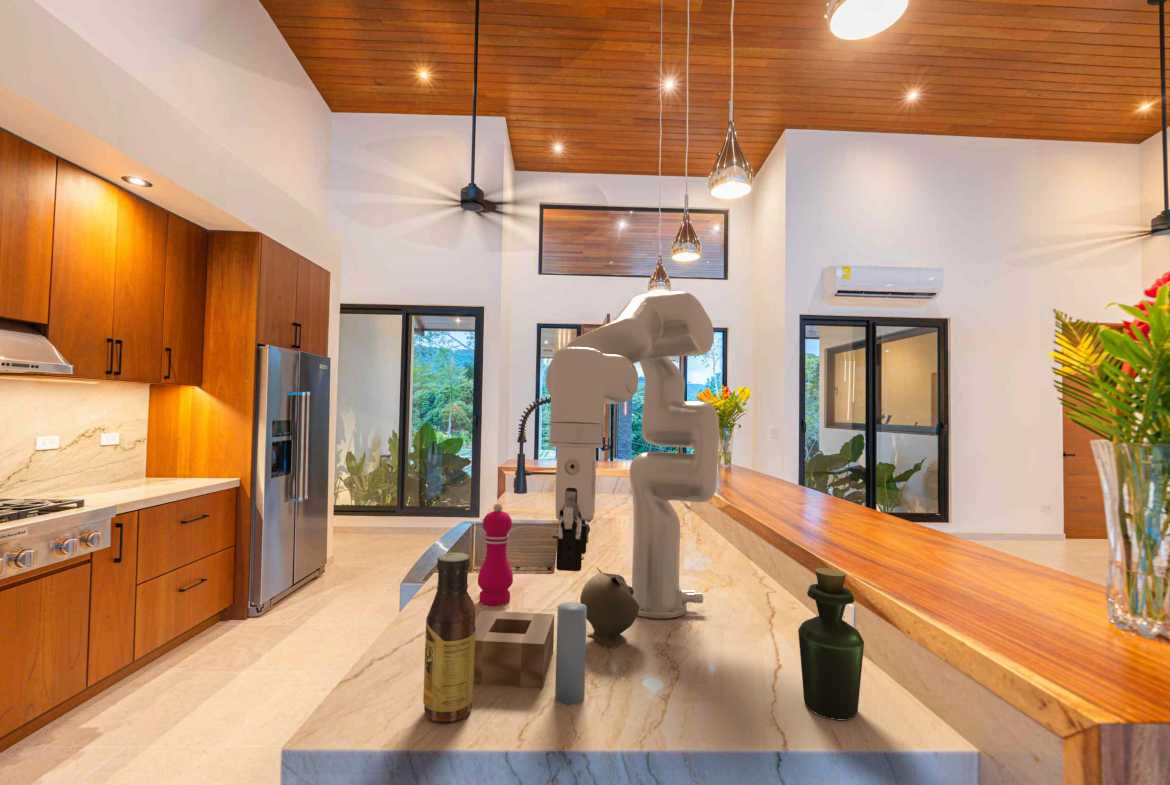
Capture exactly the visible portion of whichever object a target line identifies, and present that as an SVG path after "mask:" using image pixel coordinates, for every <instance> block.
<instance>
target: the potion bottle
mask: <svg viewBox="0 0 1170 785" xmlns="http://www.w3.org/2000/svg"><path fill="white" fill-rule="evenodd" d="M814 571H815V576H816V580H817V583H813V584H810V585H809V587H808V589H807V593H806V595H807V597H808V598H810V599H811V600H814V601H815V605H816V609H817V612H818V615H817V616H814V617H812V618H809V619H807V620H804V621H803V622H802V623H801V625H800V627H798V631H797V633H798V642H799V644H798V645H799V655H800V666H801V667H800V669H801V678H802V689H803V690H802V691H803V701H804V704H805V705H807V706H808V707H807V706H806V707H807V708H808V709H809V710H810V711H811V710H812V711H814V712H816V713H817V714H819V715H822V716H825V717H828V718H833V719H849V718H852V717H854V718H855V717H856V715H857V714H858V712H859V701H860V692H861V691H860V690H861V682H862V681H861V680H862V679H861V678H862V670H863V669H862V668H863V659H864V647H865V642H864V639H863V637H862V635H861V634H860V632H859V630H858V629H857V628H855V627H853V626H852V625H851V624H850V623H848V622H846V621H845V620H843V617H844V613H845V611H846V610H845V609H846V606H847V605H850V604H853V603H854V602H855V599H854V596H853V595H854V594H853V592H852V591H851V589H849V588H847V587H845V585H844V584H845V580H846V576H847V574H846V571H845V572H844V571H842V570H840V569H835V568H827V567H820V568H816V569H815V570H814ZM812 711H811V712H812ZM814 712H813V713H814ZM816 713H815V714H816ZM817 714H816V715H817ZM819 715H818V716H819ZM822 716H821V717H822ZM825 717H824V718H825ZM828 718H827V719H828ZM833 719H832V720H833ZM852 719H853V718H852ZM849 720H850V719H849Z"/></svg>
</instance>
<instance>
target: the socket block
mask: <svg viewBox="0 0 1170 785" xmlns="http://www.w3.org/2000/svg"><path fill="white" fill-rule="evenodd" d="M475 627H476V635H475V663H474V685H488V686H489V685H490V686H504V687H505V686H507V687H524V688H525V687H527V688H539V689H540V688H544V685H545V682H546V678H547V674H548V671H549V667H550V665H551V661H552V657H553V654H554V642H555V641H554V636H555V633H554V632H555V631H554V630H555V613H541V612H540V613H537V612H517V611H516V612H515V611H501V610H500V611H496V610H480V612H479V614H478V616H476V617H475Z"/></svg>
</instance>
